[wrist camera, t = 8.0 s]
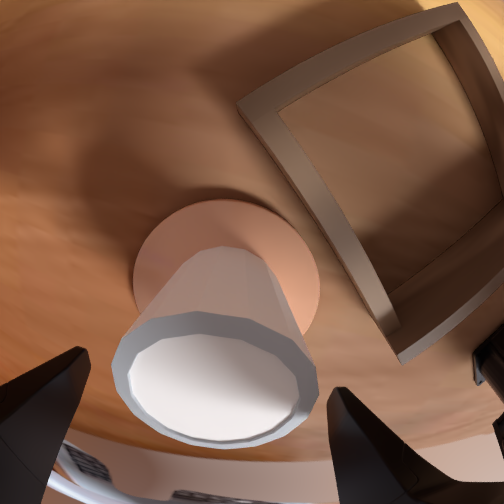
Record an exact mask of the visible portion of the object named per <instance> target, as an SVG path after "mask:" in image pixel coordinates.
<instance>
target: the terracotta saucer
mask: <svg viewBox="0 0 504 504" xmlns="http://www.w3.org/2000/svg"><path fill="white" fill-rule="evenodd" d="M219 246H226V247H233V248H240V249H245V250H247V251H249V252H250V253H252V254H254V255H255V256H257V257H259V258H261V259H262V260H264V261H265V262H266V264H267V265H268V266H269V268H270V269H271V270H272V272H273V273H274V274H275V276H276V277H277V279H278V281H279V284H280V286H281V288H282V290H283V293H284V295H285V297H286V300H287V302H288V304H289V307H290V309H291V311H292V313H293V316H294V318H295V320H296V323H297V325H298V327H299V330H300V332H301V334H302V336H303V335H304V333H305V332H306V331H307V329H308V328H309V326H310V324H311V322H312V321H313V318H314V316H315V313H316V311H317V307H318V303H319V295H320V281H319V274H318V270H317V266H316V263H315V260H314V258H313V255H312V254H311V252H310V250H309V248H308V247H307V245H306V243H305V241H304V240H303V238H302V237H301V236H300V234H299V233H298V232H297V231H296V230H295V229H294V228H293V227H292V226H291V225H290V224H289V223H288V222H287V221H286V220H285V219H283V218H282V217H280V216H279V215H278V214H276V213H274V212H272V211H271V210H269V209H267V208H265V207H262V206H260V205H257V204H254V203H251V202H247V201H242V200H236V199H211V200H205V201H200V202H197V203H194V204H191V205H188V206H186V207H184V208H182V209H180V210H178V211H176V212H174V213H173V214H171V215H170V216H169V217H167V218H166V219H165V220H163V221H162V222H161V223H160V224H159V225H158V226H157V227H156V228H155V229H154V230H153V231H152V232H151V233H150V235H149V236H148V237H147V239H146V240H145V241H144V243H143V245H142V247H141V249H140V251H139V253H138V256H137V259H136V262H135V267H134V272H133V289H134V296H135V300H136V304H137V307H138V310H139V312H140V314H142V312H143V311H144V310H145V309H146V307H147V306H148V305H149V304H150V303H151V301H152V300H153V299H154V298H155V296H156V295H157V294H158V293H159V292H160V290H161V289H162V288H163V287H164V286H165V284H166V283H167V282H168V281H169V280H170V278H171V277H172V276H173V275H174V274H175V273H176V271H177V270H178V269H179V268H180V267H181V265H182V264H183V263H184V262H186V261H187V260H188V259H190V258H191V257H193V256H194V255H195V254H197V253H198V252H199V251H202V250H206V249H210V248H215V247H219Z"/></svg>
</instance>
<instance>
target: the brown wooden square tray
mask: <svg viewBox="0 0 504 504" xmlns="http://www.w3.org/2000/svg"><path fill="white" fill-rule="evenodd" d="M430 33H432V35H433V36H434V38H435V39H436V41H437V42H438V44H439V45H440V47H441V49H442V50H443V52H444V53H445V55H446V57H447V58H448V60H449V62H450V64H451V65H452V67H453V69H454V71H455V72H456V74H457V76H458V78H459V80H460V82H461V84H462V86H463V88H464V90H465V92H466V94H467V96H468V98H469V100H470V102H471V104H472V107H473V109H474V111H475V113H476V116H477V118H478V120H479V123H480V125H481V128H482V130H483V133H484V136H485V138H486V141H487V144H488V147H489V150H490V153H491V156H492V159H493V162H494V165H495V168H496V172H497V175H498V179H499V183H500V186H501V190H502V195H503V200H502V201H501V202H500V203H499V204H498V205H497V206H496V207H494V208H493V209H492V210H491V211H490V212H489V213H488V214H487V215H486V216H485V217H484V218H483V219H482V220H481V221H480V222H479V223H477V224H476V225H475V226H474V227H473V228H472V229H471V230H470V231H468V232H467V233H466V234H465V235H464V236H463V237H462V238H460V239H459V240H458V241H457V242H456V243H455V244H453V245H452V246H451V247H450V248H449V249H447V250H446V251H445V252H444V253H443V254H441V255H440V256H439V257H438V258H436V259H435V260H434V261H433V262H431V263H430V264H429V265H427V266H426V267H425V268H424V269H422V270H421V271H420V272H418V273H417V274H416V275H414V276H413V277H412V278H410V279H409V280H408V281H406V282H405V283H403V284H402V285H401V286H399V287H398V288H397V289H395V290H394V291H392V292H391V293H389V294H388V295H387V294H386V292H385V290H384V288H383V286H382V284H381V282H380V280H379V278H378V276H377V274H376V272H375V270H374V268H373V266H372V264H371V262H370V260H369V258H368V257H367V255H366V253H365V251H364V249H363V247H362V245H361V244H360V242H359V240H358V238H357V236H356V235H355V233H354V231H353V229H352V227H351V226H350V224H349V222H348V220H347V219H346V217H345V215H344V214H343V212H342V210H341V209H340V207H339V205H338V203H337V202H336V200H335V199H334V197H333V195H332V194H331V192H330V190H329V189H328V187H327V186H326V184H325V182H324V181H323V179H322V178H321V176H320V175H319V173H318V171H317V170H316V168H315V167H314V165H313V164H312V162H311V161H310V159H309V158H308V156H307V155H306V153H305V152H304V150H303V149H302V147H301V146H300V144H299V143H298V142H297V140H296V139H295V137H294V136H293V134H292V133H291V132H290V130H289V129H288V127H287V126H286V125H285V123H284V122H283V120H282V119H281V118H280V116H279V115H278V114H277V112H278V111H280V110H281V109H283V108H284V107H286V106H288V105H289V104H291V103H293V102H294V101H296V100H297V99H299V98H301V97H302V96H304V95H306V94H308V93H309V92H311V91H313V90H314V89H316V88H318V87H320V86H321V85H323V84H325V83H327V82H329V81H330V80H332V79H334V78H336V77H338V76H340V75H341V74H343V73H345V72H347V71H349V70H351V69H353V68H355V67H357V66H359V65H361V64H363V63H365V62H367V61H369V60H371V59H373V58H375V57H377V56H379V55H381V54H383V53H385V52H388V51H390V50H392V49H394V48H396V47H399V46H401V45H403V44H406V43H408V42H410V41H413V40H415V39H418V38H420V37H423V36H425V35H428V34H430ZM236 105H237V109H238V112H239V114H240V115H241V117H242V118H243V119H244V121H245V122H246V123H247V125H248V126H249V127H250V129H251V130H252V131H253V133H254V134H255V135H256V137H257V138H258V139H259V141H260V142H261V143H262V145H263V146H264V147H265V149H266V150H267V152H268V153H269V154H270V156H271V157H272V159H273V160H274V161H275V163H276V164H277V166H278V167H279V169H280V170H281V171H282V173H283V174H284V176H285V177H286V179H287V180H288V182H289V183H290V184H291V186H292V187H293V189H294V190H295V192H296V193H297V195H298V196H299V198H300V199H301V201H302V202H303V204H304V205H305V207H306V208H307V210H308V211H309V213H310V214H311V216H312V218H313V219H314V221H315V222H316V224H317V225H318V227H319V228H320V230H321V232H322V233H323V235H324V236H325V238H326V240H327V241H328V243H329V244H330V246H331V248H332V249H333V251H334V253H335V254H336V256H337V257H338V259H339V261H340V262H341V264H342V266H343V267H344V269H345V271H346V273H347V274H348V276H349V278H350V279H351V281H352V283H353V285H354V286H355V288H356V290H357V291H358V293H359V295H360V297H361V299H362V300H363V302H364V304H365V306H366V307H367V309H368V311H369V313H370V315H371V317H372V318H373V320H374V322H375V323H376V325H377V326H378V328H379V329H380V331H381V332H382V334H383V336H384V337H385V339H386V340H387V342H388V344H389V345H390V347H391V348H392V350H393V352H394V353H395V355H396V356H397V358H398V360H399V361H400V363H401V365H404V364H405V363H407V362H408V361H410V360H411V359H413V358H414V357H416V356H417V355H419V354H420V353H421V352H423V351H424V350H426V349H427V348H428V347H430V346H431V345H432V344H434V343H435V342H436V341H438V340H439V339H440V338H442V337H443V336H444V335H446V334H447V333H448V332H449V331H451V330H452V329H453V328H454V327H456V326H457V325H458V324H459V323H460V322H462V321H463V320H464V319H465V318H466V317H467V316H469V315H470V314H471V313H472V312H473V311H474V310H475V309H477V308H478V307H479V306H480V305H481V304H482V303H483V302H484V301H485V300H486V299H487V298H488V297H489V296H491V295H492V294H493V293H494V292H495V291H496V290H497V289H498V288H499V287H500V286H501V285H502V284H503V283H504V81H503V79H502V77H501V75H500V73H499V71H498V69H497V66H496V64H495V62H494V61H493V59H492V57H491V55H490V53H489V51H488V49H487V47H486V46H485V44H484V42H483V40H482V39H481V37H480V35H479V34H478V32H477V30H476V29H475V27H474V26H473V24H472V23H471V21H470V19H469V18H468V16H467V15H466V14H465V12H464V11H463V9H462V8H461V6H460V5H459V4H458V2H456V3H451V4H447V5H443V6H439V7H436V8H432V9H429V10H425V11H422V12H419V13H415V14H412V15H409V16H406V17H403V18H400V19H397V20H395V21H392V22H389V23H387V24H384V25H381V26H379V27H376V28H374V29H371V30H369V31H366V32H364V33H362V34H359V35H357V36H355V37H352V38H350V39H348V40H346V41H344V42H341V43H339V44H337V45H335V46H333V47H331V48H329V49H327V50H325V51H323V52H321V53H319V54H317V55H315V56H313V57H311V58H309V59H307V60H305V61H304V62H302V63H300V64H298V65H296V66H295V67H293V68H291V69H289V70H287V71H286V72H284V73H282V74H280V75H279V76H277V77H275V78H274V79H272V80H270V81H269V82H267V83H265V84H264V85H262V86H261V87H259V88H257V89H256V90H254V91H253V92H251V93H250V94H248V95H246V96H245V97H243V98H242V99H240V100H239V101H237V102H236Z"/></svg>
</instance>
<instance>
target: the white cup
mask: <svg viewBox="0 0 504 504" xmlns="http://www.w3.org/2000/svg"><path fill="white" fill-rule="evenodd" d="M111 366H112V371H113V376H114V381H115V386H116V390H117V392H118V394H119V395H120V396H121V398H122V399H123V400H124V402H125V403H126V405H127V406H128V407H129V409H130V410H131V411H132V412H133V414H134V415H135V416H137V417H138V418H139V419H141V420H142V421H144V422H145V423H146V424H148V425H149V426H151V427H152V428H153V429H155V430H156V431H158V432H159V433H161V434H164V435H166V436H169V437H171V438H174V439H176V440H179V441H182V442H184V443H187V444H190V445H196V446H202V447H209V448H217V449H233V448H244V447H253V446H258V445H261V444H264V443H267V442H269V441H272V440H275V439H278V438H280V437H283V436H285V435H287V434H288V433H289V432H290V431H292V430H293V429H294V428H296V427H297V426H298V425H299V424H301V423H302V422H303V421H304V420H306V419H307V418H308V416H309V414H310V412H311V410H312V408H313V406H314V404H315V402H316V400H317V398H318V396H319V389H318V381H317V374H316V367H315V364H314V362H313V360H312V357H311V355H310V353H309V350H308V348H307V346H306V343H305V341H304V339H303V336H302V334H301V332H300V330H299V327H298V325H297V323H296V320H295V318H294V316H293V313H292V311H291V309H290V307H289V304H288V302H287V300H286V297H285V295H284V293H283V290H282V288H281V286H280V284H279V281H278V279H277V277H276V276H275V274H274V273H273V272H272V270H271V269H270V268H269V266H268V265H267V264H266V262H265V261H264V260H262V259H261V258H259V257H257V256H255V255H254V254H252V253H250V252H249V251H247V250H245V249H240V248H233V247H226V246H219V247H215V248H210V249H206V250H202V251H199V252H198V253H197V254H195V255H194V256H193V257H191V258H190V259H188V260H187V261H186V262H184V263H183V264H182V265H181V267H180V268H179V269H178V270H177V271H176V273H175V274H174V275H173V276H172V277H171V278H170V280H169V281H168V282H167V283H166V284H165V286H164V287H163V288H162V289H161V290H160V292H159V293H158V294H157V295H156V296H155V298H154V299H153V300H152V301H151V303H150V304H149V305H148V306H147V307H146V309H145V310H144V311H143V312H142V314H141V315H140V316H139V317H138V319H137V320H136V321H135V322H134V324H133V325H132V326H131V327H130V329H129V330H128V331H127V332H126V334H125V335H124V336H123V337H122V339H121V341H120V344H119V346H118V348H117V351H116V353H115V356H114V358H113V361H112V364H111Z"/></svg>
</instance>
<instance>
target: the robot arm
mask: <svg viewBox="0 0 504 504" xmlns="http://www.w3.org/2000/svg"><path fill="white" fill-rule="evenodd" d="M473 358H474V370H475V383H476V385H477V386H479V385H481V384H482V383H483V382H484V381H485V380H486V381H487V382H488V384H489V385H490V386H491V387H492V389H493V390H494V391H495V393H496V394H497V395H498V397H499V398H500V400H501V401H502V402H503V404H504V324H503V325H502V326H501V327H500V328H499V329H498V330H497V331H496V332H495V333H494V334H493V335H492V336H491V337H490V338H489V339H488V340H486V341H485V342H484V343H483V344H482V345H481V346H480V347H479V348H477V349H476V350H475V352H474V354H473ZM90 370H91V363H90V359H89V355H88V351H87V349H85V348H82V347H79V346H76V347H74V348H72V349H70V350H68V351H66V352H64V353H62V354H60V355H59V356H57V357H55V358H53V359H51V360H49V361H47V362H45V363H43V364H41V365H39V366H38V367H36V368H34V369H32V370H30V371H28V372H26V373H24V374H22V375H20V376H19V377H17V378H15V379H13V380H11V381H9V382H8V383H5V384H3V385H1V386H0V504H41V501H42V498H43V494H44V492H45V488H46V487H45V486H46V485H47V482H48V479H49V477H50V474H51V471H52V468H53V465H54V463H55V460H56V458H57V455H58V452H59V450H60V447H61V445H62V442H63V440H64V437H65V435H66V433H67V430H68V428H69V426H70V423H71V421H72V419H73V416H74V414H75V412H76V410H77V407H78V405H79V403H80V400H81V397H82V394H83V391H84V388H85V385H86V382H87V379H88V376H89V373H90ZM327 420H328V435H329V444H330V449H331V455H332V460H333V466H334V471H335V477H336V482H337V489H338V495H339V501H340V504H504V482H462V481H457V480H454V479H452V478H450V477H449V476H447V475H445V474H444V473H443V472H441V471H440V470H438V469H437V468H436V467H434V466H433V465H431V464H430V463H429V462H427V461H426V460H425V459H423V458H422V457H421V456H420V455H418V454H417V453H416V452H415V451H414V450H413V449H411V448H410V447H409V446H408V445H407V444H406V443H405V444H404V441H403V440H401V439H400V438H399V437H398V436H397V435H396V434H395V433H394V432H393V431H392V430H391V429H390V428H389V427H388V426H386V425H385V424H384V423H383V422H382V421H381V420H380V419H379V418H378V417H377V416H376V415H375V414H374V413H373V412H372V411H371V410H369V409H368V408H367V407H366V406H365V405H364V404H363V403H362V402H361V401H360V400H359V399H358V398H357V397H356V396H355V395H354V394H353V393H352V392H351V391H350V390H349V389H348V388H346V387H335V388H334V389H333V391H332V393H331V395H330V397H329V399H328V401H327ZM492 425H493V427H494V430H495V434H496V437H497V440H498V443H499V446H500V449H501V452H502V455H503V459H504V412H503V413H502V415H501V416H500V417H499V418H498V419H496V420H495V421H494V422H493V424H492Z"/></svg>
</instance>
